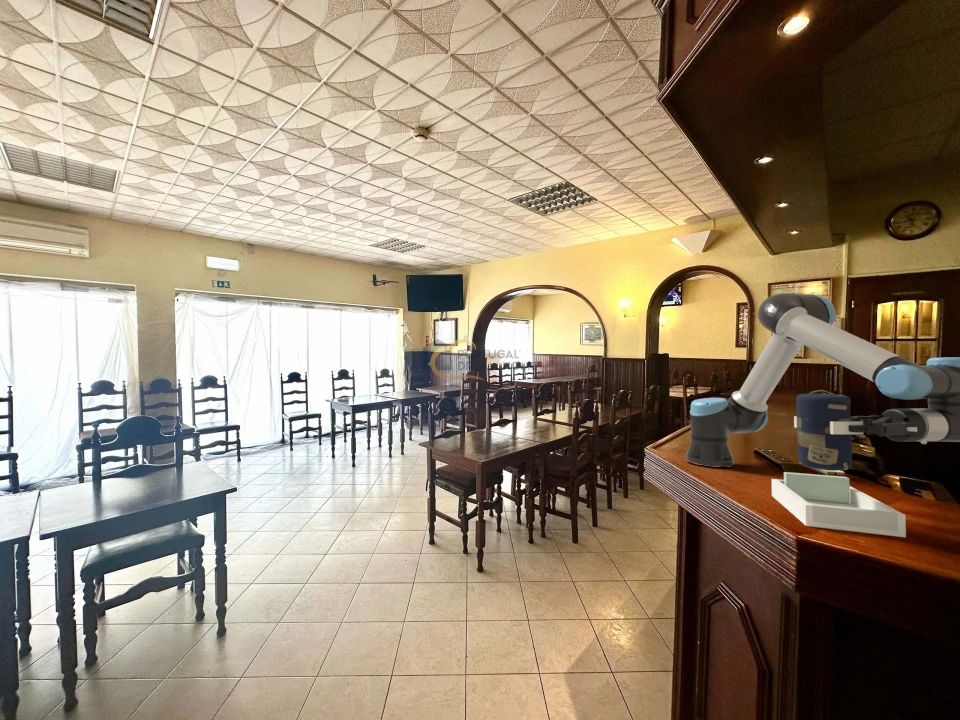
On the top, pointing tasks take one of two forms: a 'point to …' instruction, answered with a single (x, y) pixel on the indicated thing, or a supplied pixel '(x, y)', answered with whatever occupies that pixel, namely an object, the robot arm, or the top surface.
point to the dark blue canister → (823, 431)
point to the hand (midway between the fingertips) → (812, 424)
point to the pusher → (819, 486)
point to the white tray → (843, 512)
